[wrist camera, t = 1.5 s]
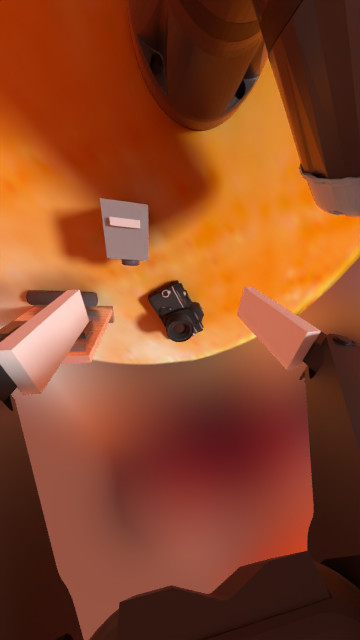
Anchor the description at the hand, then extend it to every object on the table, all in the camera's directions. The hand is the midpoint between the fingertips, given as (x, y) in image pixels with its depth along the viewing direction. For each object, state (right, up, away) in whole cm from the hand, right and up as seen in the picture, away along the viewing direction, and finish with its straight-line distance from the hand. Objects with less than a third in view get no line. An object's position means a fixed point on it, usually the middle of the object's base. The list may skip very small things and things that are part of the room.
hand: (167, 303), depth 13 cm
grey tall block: (-7, +13, +12) cm, 19 cm away
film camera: (+1, +1, +21) cm, 21 cm away
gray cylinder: (-19, +3, +16) cm, 25 cm away
